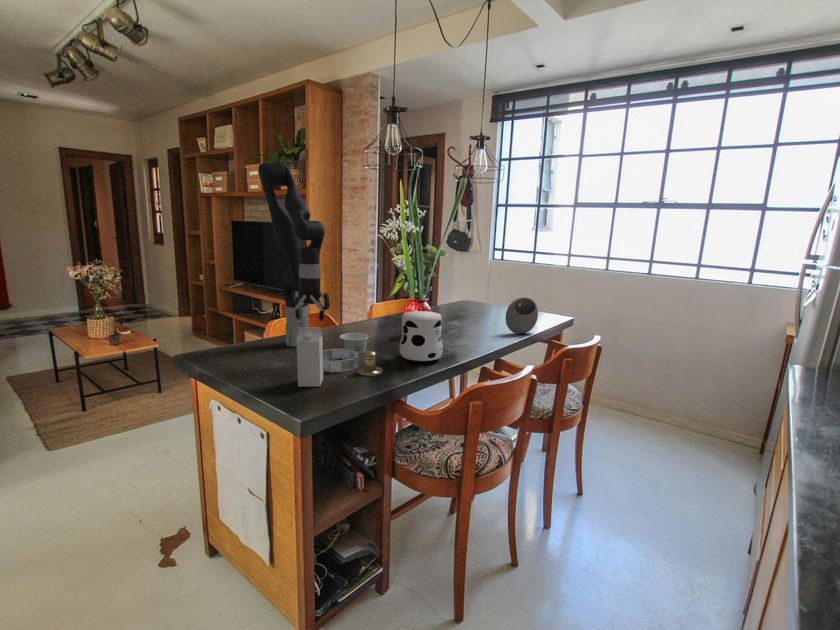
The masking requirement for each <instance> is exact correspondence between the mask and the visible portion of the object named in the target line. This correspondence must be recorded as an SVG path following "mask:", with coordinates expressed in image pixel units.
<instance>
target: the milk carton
mask: <svg viewBox="0 0 840 630" xmlns="http://www.w3.org/2000/svg"><path fill="white" fill-rule="evenodd" d="M321 329H322V328H321V327H320V326H319V327H318V326H317V327H315V326H313V327H298V336H297V347H296V362H297V363H296V365H297V371H296V372H297V387H298V388H299V387H307V388H308V387H309V388H310V387H312V388H313V387H321V384H322V382H323V380H324V372H323V350H324V349H323V343H324V342H323V333H322V330H321Z"/></svg>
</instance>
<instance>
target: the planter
mask: <svg viewBox="0 0 840 630" xmlns="http://www.w3.org/2000/svg"><path fill="white" fill-rule="evenodd" d="M538 318H539V310H538V306H537V303H536V302H535V301H534V299H532V298H529V297H525V296H524V297H523V296H522V297H517V298H516V299H514V300H513V301H511V303H510V304H509V306H508V307H507V309H506V312H505V324H506V327H507V329H508V330H509V331H510V332H512V333H513V334H516V333H518V334H517V335H521V334H520V333H524V334H526V333H529V332H530V331H532V329H533V328H534V327H535V325H536V324H537V321H538Z"/></svg>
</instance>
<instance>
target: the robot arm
mask: <svg viewBox="0 0 840 630" xmlns="http://www.w3.org/2000/svg"><path fill="white" fill-rule="evenodd" d="M258 177H259V179H260V183H261V186H262V189H263V194H264V195H265V199H266V202H267V206H268V210H269V214H270V218H271V224H272V227H273V233H274V237H275V239H276V243H278V246H279V247H280V248H281V251H282V252H283V253H284V255H285V257H286V258H287V261H288V264H289V267H288V268H287V269H285V270H284V271H283V273H282V277H281V287H282V298H283V300H284V302H285V322H286V323H285V345H286V346H285V347H292V348H293V347H294V348H297V336H298V327H309V326H310V325H309V304H310V305H315V306H316V307H317V308H318V310H319V318H318V319H319V320H318V321H319V322H322V321H323V320H324V319H325V317H326V316H325V315H326V314H325V312H326V311H327V310H329V309H330V308H331V307H330V303H331V302H330V293H329V292H326V293H325V292H321V277H322V276H321V275H322V274H321V264H320V263H321V262H320V261H321V259H320V256H321V249H322V245H323V242H324V239H325V235H326V233H325V231H326V230H325V226H324V224H323V222H321V221H319V220H310V218H311V212H310V211H309V208H308V206H307V204H306V203H305V202H304V199H303V198H302V196H301V195H300V191H299V190H298V186H297V183H296V182H295V179H294V176H293V175H292V171H291V169H290V168H289V165H288V164H287V163H286V162H284V161H281V160H279V161H273V162H272V161H271V162H263V163H259V165H258ZM281 187H286V193H285V197H284V204H283V203H282V202H281V201H280V200H279V198H278V197H277V195H276V192H275V188H281ZM301 241H310V243H309V245H307V246H304V247H302V243H301ZM320 298H322V300H323V303H322V301H321V299H320Z"/></svg>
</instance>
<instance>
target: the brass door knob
mask: <svg viewBox="0 0 840 630" xmlns="http://www.w3.org/2000/svg"><path fill="white" fill-rule="evenodd" d="M376 353H377V352H376V351H375V350H365V352H364V353H363V356H364V357H363V359H364V363H363V365H364V366H362V367H358V369H357V370H356V373H357V374H358V375H359V374H360V375H359V376H362V375H363V376H362V377H377V376H380V375H382V374H383V371H384V370H383V368H382V367H380V366H377V365H376V363H377V360H376V357H377V354H376ZM381 373H382V374H381ZM379 374H380V375H379ZM376 375H377V376H376Z"/></svg>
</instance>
